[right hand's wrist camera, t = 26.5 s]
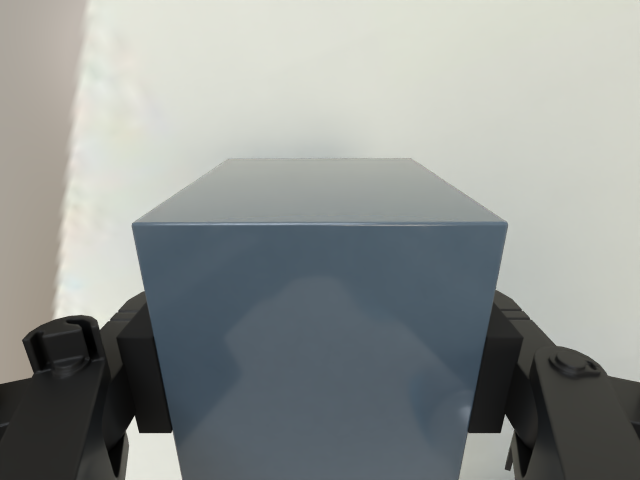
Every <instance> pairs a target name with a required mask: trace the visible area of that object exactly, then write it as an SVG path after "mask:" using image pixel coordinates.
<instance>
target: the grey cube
mask: <svg viewBox="0 0 640 480" xmlns="http://www.w3.org/2000/svg"><path fill="white" fill-rule="evenodd" d="M507 228H508V223H507V222H506V221H505V220H503V219H502V218H500V217H499V216H497V215H496V214H494V213H493V212H491V211H490V210H488V209H487V208H485V207H484V206H482V205H481V204H479V203H478V202H476V201H475V200H473V199H472V198H470V197H469V196H467V195H466V194H464V193H463V192H461V191H460V190H458V189H457V188H455V187H454V186H452V185H451V184H449V183H448V182H446V181H445V180H443V179H442V178H440V177H439V176H437V175H436V174H434V173H433V172H431V171H430V170H428V169H427V168H425V167H424V166H422V165H421V164H419V163H418V162H416V161H414V160H413V159H411V158H342V159H227V160H226V161H224V162H223V163H221V164H220V165H218V166H217V167H215V168H214V169H212V170H211V171H209V172H208V173H206V174H205V175H203V176H202V177H200V178H199V179H197V180H196V181H194V182H193V183H191V184H190V185H188V186H187V187H185V188H184V189H182V190H181V191H179V192H178V193H176V194H175V195H174V196H172V197H171V198H169V199H168V200H166V201H165V202H163V203H162V204H160V205H159V206H157V207H156V208H154V209H153V210H151V211H150V212H148V213H147V214H145V215H144V216H142V217H141V218H139V219H138V220H136V221H135V222H133V223H132V230H133V235H134V240H135V245H136V250H137V255H138V260H139V265H140V270H141V275H142V280H143V285H144V290H145V295H146V300H147V305H148V310H149V315H150V320H151V325H152V330H153V335H154V340H155V345H156V350H157V355H158V360H159V365H160V370H161V375H162V380H163V385H164V390H165V395H166V400H167V405H168V410H169V415H170V420H171V425H172V430H173V435H174V440H175V445H176V450H177V455H178V460H179V465H180V470H181V475H182V480H458V479H459V474H460V469H461V464H462V459H463V454H464V449H465V443H466V438H467V433H468V427H469V422H470V417H471V412H472V407H473V402H474V397H475V392H476V386H477V381H478V376H479V371H480V366H481V361H482V356H483V351H484V346H485V341H486V336H487V331H488V325H489V320H490V315H491V310H492V305H493V300H494V295H495V290H496V284H497V279H498V274H499V269H500V264H501V259H502V254H503V248H504V243H505V238H506V233H507Z"/></svg>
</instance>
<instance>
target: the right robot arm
mask: <svg viewBox="0 0 640 480" xmlns="http://www.w3.org/2000/svg"><path fill="white" fill-rule="evenodd" d="M22 341H23V344H24V347H25V350H26V353H27V355H28V358H29V361H30V364H31V367H32V369H33V372H34V374H33V376H32V378H28V379H23V380H18V381H13V382H9V383H4V384H0V480H125V475H126V467H127V459H128V450H129V443H128V437H127V433H126V429H127V428H128V426H129V424H130V423H131V421H132V419H133V417H134V416H135V418H136V422H137V426H138V430H139V433H171V432H172V425H171V420H170V415H169V410H168V405H167V400H166V395H165V390H164V385H163V380H162V375H161V370H160V365H159V360H158V355H157V350H156V345H155V340H154V335H153V330H152V325H151V320H150V315H149V310H148V305H147V300H146V295H145V292H141V293H140V294H138V295H136V296H135V297H133V298H131V299H129V300H128V301H127V302H126V303H125V304H124V305H123V306H122V307H121V308H120V309H119V310H118V313H116V314H115V315H114V316H113V317H112V318H111V319H110V321H108V322H107V323H106V324H105V325H104V326H103V327H102V329H101V330H99V326H98V322H97V320H96V319H94V318H93V317H91V316H84V315H77V316H67V317H63V318H59V319H55V320H53V321H50V322H48V323H46V324H43V325H41V326H39V327H37V328H36V329H34V330H33V331H31V332H29V333H28V334H27V335H26V337H25V338H24V339H23V340H22ZM505 414H506V416H507V418H508V419H509V421H510V423H511V425H512V426H513V428H514V433H513V437H512V441H511V445H510V448H509V452H508V456H507V460H506V465H505V470H509V471H510V470H511V466H512V463H513V466H514V474H515V480H640V382H635V381H630V380H625V379H620V378H615V377H611V376H608V375H607V373H606V372H605V371H604V369H603V368H602V367H601V366H600V365H599V364H598V363H597V362H595V361H594V360H593V359H591V358H590V357H588V356H586V355H584V354H582V353H580V352H578V351H576V350H572V349H569V348H565V347H560V346H556V345H555V344H554V343H553V342H552V341H551V340H550V339H549V338H548V337H547V336H546V334H545V333H544V332H543V331H542V330H541V329H540V328H539V327H538V326H537V325H536V324H535V323H534V322H533V321H532V320H530V318H529V317H528V315H527V314H526V313H525V312H524V311H522V309H521V308H520V307H519V306H518V305H517V304H516V303H515V302H514V301H513V300H512V299H511V298H509V297H508V296H506V295H504V294H502V293H501V292H499V291H497V290H495V295H494V300H493V305H492V310H491V315H490V320H489V325H488V331H487V336H486V341H485V346H484V351H483V356H482V361H481V366H480V371H479V376H478V381H477V386H476V392H475V397H474V402H473V407H472V412H471V417H470V422H469V427H468V433H501V429H502V425H503V421H504V416H505Z"/></svg>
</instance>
